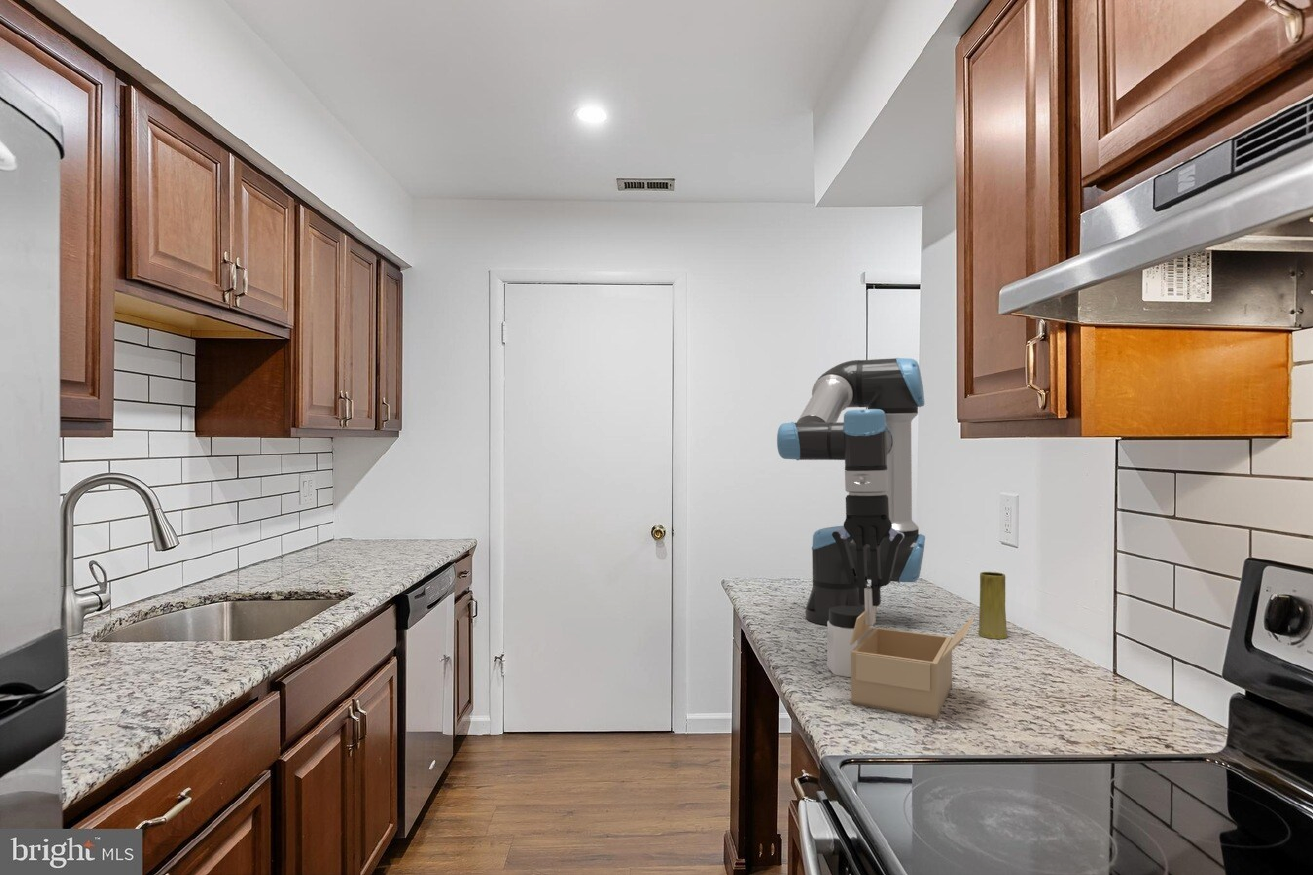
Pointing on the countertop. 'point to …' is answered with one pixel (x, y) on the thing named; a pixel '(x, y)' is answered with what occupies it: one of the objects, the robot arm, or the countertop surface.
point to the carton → (901, 672)
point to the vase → (992, 606)
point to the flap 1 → (860, 626)
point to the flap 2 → (958, 637)
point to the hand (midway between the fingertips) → (870, 623)
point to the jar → (842, 638)
